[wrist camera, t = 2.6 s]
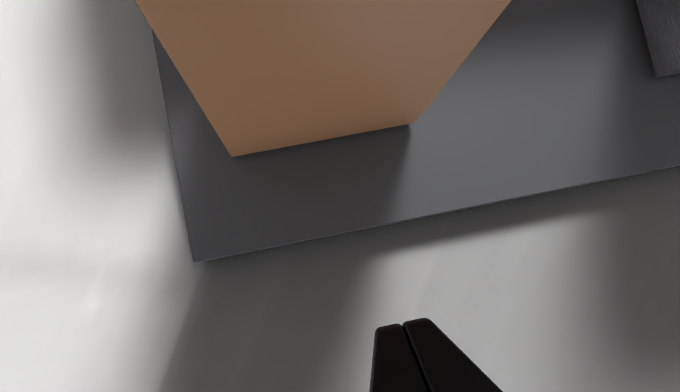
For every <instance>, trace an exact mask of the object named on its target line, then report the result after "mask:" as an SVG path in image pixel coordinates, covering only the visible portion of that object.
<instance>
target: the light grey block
mask: <svg viewBox="0 0 680 392" xmlns="http://www.w3.org/2000/svg"><path fill="white" fill-rule="evenodd" d="M636 3H637V7H638V10H639V14H640V18H641V22H642V25H643V29H644V33H645V37H646V40H647V44H648V48H649V52H650V55H651V59H652V63H653V67H654V70H655V74H656V78H657V77H662V76H667V75H673V74H678V73H680V0H636Z"/></svg>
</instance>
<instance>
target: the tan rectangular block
mask: <svg viewBox="0 0 680 392" xmlns="http://www.w3.org/2000/svg"><path fill="white" fill-rule="evenodd" d="M510 1H511V0H135V2H136V3H137V5H138V7H139V8H140V10H141V11H142V13H143V15H144V16H145V18H146V20H147V21H148V23H149V24H150V26H151V28H152V29H153V31H154V33H155V34H156V36H157V37H158V39H159V41H160V42H161V44H162V45H163V47H164V49H165V50H166V52H167V54H168V55H169V57H170V58H171V60H172V62H173V63H174V65H175V66H176V68H177V70H178V71H179V73H180V75H181V76H182V78H183V79H184V81H185V83H186V84H187V86H188V87H189V89H190V91H191V92H192V94H193V96H194V97H195V99H196V100H197V102H198V104H199V105H200V107H201V108H202V110H203V112H204V113H205V115H206V117H207V118H208V120H209V121H210V123H211V125H212V126H213V128H214V130H215V131H216V133H217V134H218V136H219V138H220V139H221V141H222V142H223V144H224V146H225V147H226V149H227V151H228V152H229V154H230V155H231V157H235V156H240V155H246V154H251V153H256V152H262V151H267V150H272V149H278V148H283V147H288V146H294V145H299V144H304V143H310V142H315V141H320V140H326V139H331V138H337V137H342V136H347V135H353V134H358V133H363V132H369V131H374V130H379V129H385V128H390V127H395V126H401V125H406V124H411V123H415V122H416V121H417V120H418V118H419V117H420V116H421V115H422V113H423V112H424V111H425V110H426V108H427V107H428V106H429V104H430V103H431V102H432V101H433V99H434V98H435V97H436V96H437V94H438V93H439V92H440V90H441V89H442V88H443V87H444V85H445V84H446V83H447V82H448V80H449V79H450V78H451V76H452V75H453V74H454V73H455V71H456V70H457V69H458V68H459V66H460V65H461V64H462V62H463V61H464V60H465V59H466V57H467V56H468V55H469V54H470V52H471V51H472V50H473V48H474V47H475V46H476V45H477V43H478V42H479V41H480V40H481V38H482V37H483V36H484V34H485V33H486V32H487V31H488V29H489V28H490V27H491V26H492V24H493V23H494V22H495V20H496V19H497V18H498V17H499V15H500V14H501V13H502V12H503V10H504V9H505V8H506V6H507V5H508V4H509V3H510Z"/></svg>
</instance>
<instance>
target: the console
mask: <svg viewBox="0 0 680 392" xmlns="http://www.w3.org/2000/svg"><path fill="white" fill-rule="evenodd" d="M152 32H153V37H154V43H155V49H156V54H157V60H158V66H159V71H160V77H161V83H162V88H163V94H164V100H165V105H166V111H167V116H168V122H169V128H170V133H171V139H172V145H173V150H174V156H175V162H176V167H177V173H178V179H179V184H180V190H181V195H182V201H183V207H184V212H185V218H186V224H187V229H188V235H189V241H190V246H191V252H192V258H193V262H204V261H209V260H214V259H219V258H224V257H229V256H234V255H239V254H244V253H249V252H254V251H259V250H264V249H269V248H274V247H279V246H284V245H289V244H294V243H299V242H304V241H309V240H314V239H319V238H324V237H329V236H334V235H339V234H344V233H349V232H354V231H359V230H364V229H369V228H374V227H378V226H383V225H388V224H393V223H398V222H403V221H408V220H413V219H418V218H423V217H428V216H433V215H438V214H443V213H448V212H453V211H458V210H463V209H468V208H473V207H478V206H483V205H488V204H493V203H498V202H503V201H508V200H513V199H518V198H523V197H528V196H533V195H538V194H543V193H548V192H553V191H557V190H562V189H567V188H572V187H577V186H582V185H587V184H592V183H597V182H602V181H607V180H612V179H617V178H622V177H627V176H632V175H637V174H642V173H647V172H652V171H657V170H662V169H667V168H672V167H677V166H680V73H678V74H673V75H667V76H662V77H657V78H656V74H655V70H654V67H653V63H652V59H651V55H650V52H649V48H648V44H647V40H646V37H645V33H644V29H643V25H642V22H641V18H640V14H639V10H638V7H637V3H636V0H511V1H510V3H509V4H508V5H507V6H506V8H505V9H504V10H503V12H502V13H501V14H500V15H499V17H498V18H497V19H496V20H495V22H494V23H493V24H492V26H491V27H490V28H489V29H488V31H487V32H486V33H485V34H484V36H483V37H482V38H481V40H480V41H479V42H478V43H477V45H476V46H475V47H474V48H473V50H472V51H471V52H470V54H469V55H468V56H467V57H466V59H465V60H464V61H463V62H462V64H461V65H460V66H459V68H458V69H457V70H456V71H455V73H454V74H453V75H452V76H451V78H450V79H449V80H448V82H447V83H446V84H445V85H444V87H443V88H442V89H441V90H440V92H439V93H438V94H437V96H436V97H435V98H434V99H433V101H432V102H431V103H430V104H429V106H428V107H427V108H426V110H425V111H424V112H423V113H422V115H421V116H420V117H419V118H418V120H417V121H416V122H415V123H411V124H406V125H401V126H395V127H390V128H385V129H379V130H374V131H369V132H363V133H358V134H353V135H347V136H342V137H337V138H331V139H326V140H320V141H315V142H310V143H304V144H299V145H294V146H288V147H283V148H278V149H272V150H267V151H262V152H256V153H251V154H246V155H240V156H235V157H231V155H230V154H229V152H228V151H227V149H226V147H225V146H224V144H223V142H222V141H221V139H220V138H219V136H218V134H217V133H216V131H215V130H214V128H213V126H212V125H211V123H210V121H209V120H208V118H207V117H206V115H205V113H204V112H203V110H202V108H201V107H200V105H199V104H198V102H197V100H196V99H195V97H194V96H193V94H192V92H191V91H190V89H189V87H188V86H187V84H186V83H185V81H184V79H183V78H182V76H181V75H180V73H179V71H178V70H177V68H176V66H175V65H174V63H173V62H172V60H171V58H170V57H169V55H168V54H167V52H166V50H165V49H164V47H163V45H162V44H161V42H160V41H159V39H158V37H157V36H156V34H155V33H154V31H153V29H152Z"/></svg>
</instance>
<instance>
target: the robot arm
mask: <svg viewBox="0 0 680 392" xmlns="http://www.w3.org/2000/svg"><path fill="white" fill-rule="evenodd" d="M369 392H503V391H502V390H501V389H500V388H498V387H497V386H496V385H495V384H494V383H493V382H492V381H491V380H490V379H489V378H488V377H487V376H486V375H485V374H484V373H483V372H482V371H481V370H480V369H479V368H478V367H477V366H476V365H475V364H474V363H473V362H472V361H471V360H470V359H469V358H468V357H467V356H466V355H465V354H464V353H463V352H462V351H461V350H460V349H459V348H458V347H457V346H456V345H455V344H454V343H453V342H452V341H451V340H450V339H449V338H448V337H447V336H446V335H445V334H444V333H443V332H442V331H441V330H440V329H439V328H438V327H437V326H436V325H435V324H434V323H433V322H432V321H431V320H429V319H428V318H420V319H416V320H411V321H406V322H404V323H403V325H402V326H401V325H400V324H392V325H388V326H383V327H379V328H377V329H376V331H375V338H374V349H373V359H372V370H371V380H370V391H369Z"/></svg>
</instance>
